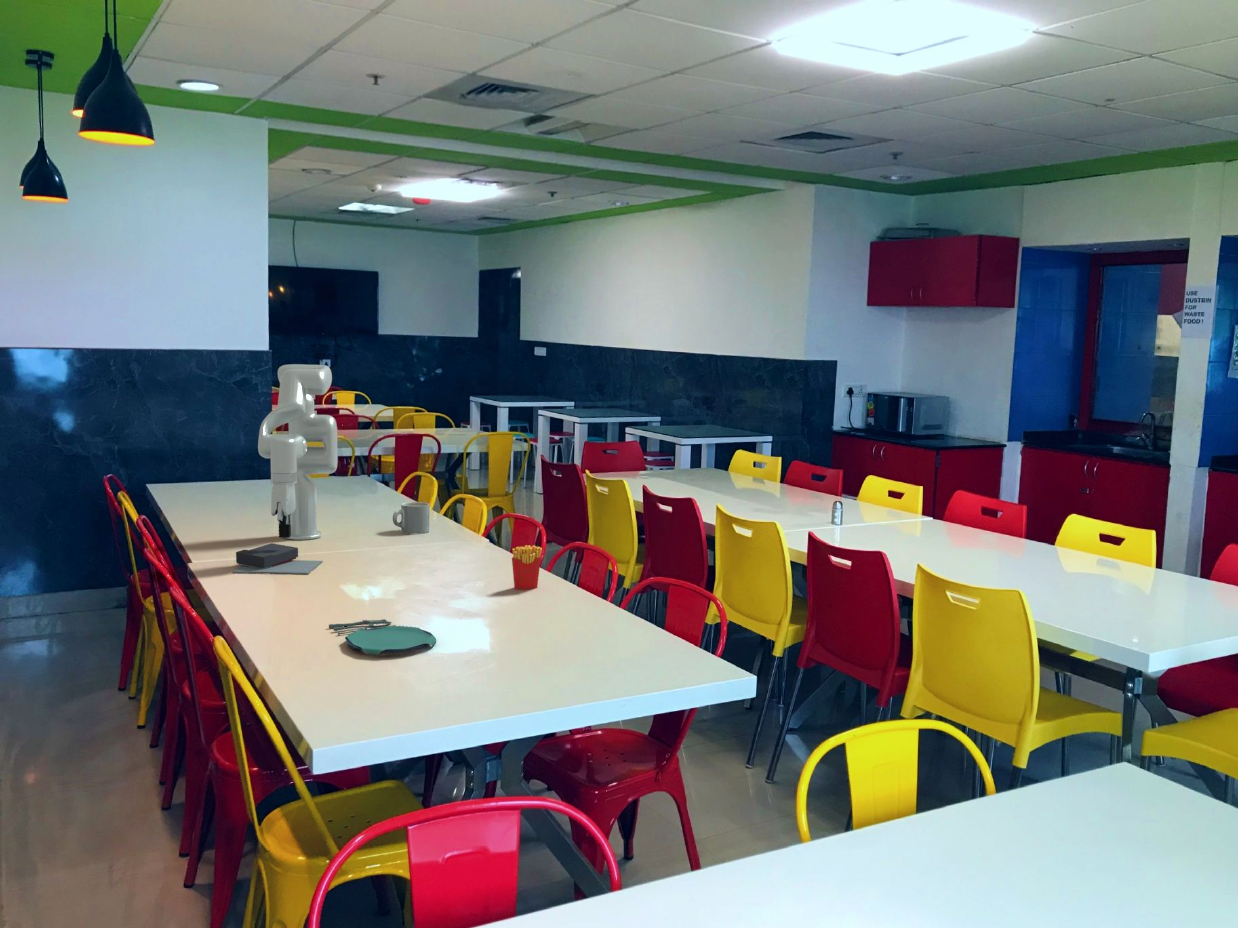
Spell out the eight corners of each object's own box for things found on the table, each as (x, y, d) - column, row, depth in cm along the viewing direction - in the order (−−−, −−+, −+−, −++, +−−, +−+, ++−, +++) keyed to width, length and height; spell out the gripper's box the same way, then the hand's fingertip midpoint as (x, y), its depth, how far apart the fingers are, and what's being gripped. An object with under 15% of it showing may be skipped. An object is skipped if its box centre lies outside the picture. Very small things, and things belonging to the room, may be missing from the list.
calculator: (272, 554, 318) (235, 565, 305) (271, 541, 317) (235, 552, 304) (299, 559, 314) (263, 571, 300) (298, 545, 313) (262, 557, 299)
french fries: (513, 590, 286) (514, 548, 284) (510, 586, 289) (510, 545, 288) (542, 588, 289) (543, 547, 287) (538, 584, 292) (539, 544, 291)
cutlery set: (364, 664, 220) (364, 653, 220) (319, 631, 244) (319, 622, 244) (448, 651, 231) (448, 641, 231) (397, 620, 256) (397, 612, 255)
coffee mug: (426, 528, 372) (426, 501, 371) (432, 533, 363) (432, 505, 362) (389, 530, 367) (389, 502, 366) (394, 535, 358) (394, 507, 357)
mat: (251, 560, 313) (250, 559, 313) (322, 562, 313) (322, 560, 313) (232, 573, 297) (232, 571, 297) (308, 574, 298) (308, 572, 298)
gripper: (279, 474, 316) (280, 532, 318) (263, 481, 301) (264, 541, 303) (303, 474, 316) (304, 532, 318) (289, 481, 301) (289, 542, 303)
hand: (284, 536), depth 311 cm, fingers closed
